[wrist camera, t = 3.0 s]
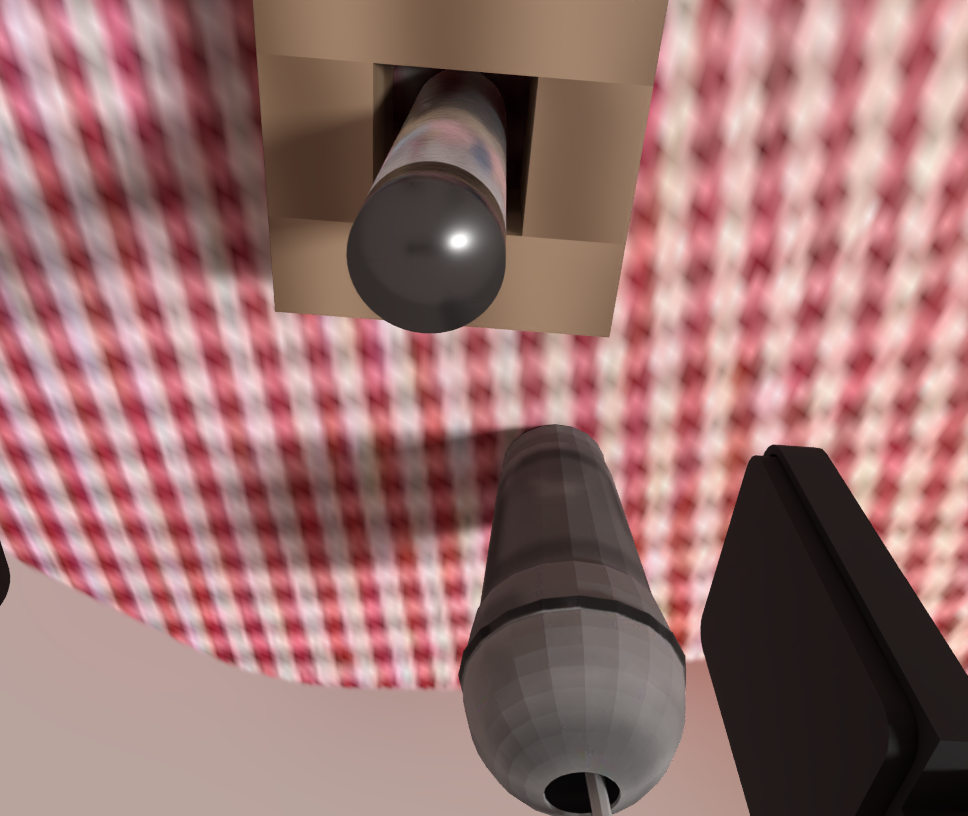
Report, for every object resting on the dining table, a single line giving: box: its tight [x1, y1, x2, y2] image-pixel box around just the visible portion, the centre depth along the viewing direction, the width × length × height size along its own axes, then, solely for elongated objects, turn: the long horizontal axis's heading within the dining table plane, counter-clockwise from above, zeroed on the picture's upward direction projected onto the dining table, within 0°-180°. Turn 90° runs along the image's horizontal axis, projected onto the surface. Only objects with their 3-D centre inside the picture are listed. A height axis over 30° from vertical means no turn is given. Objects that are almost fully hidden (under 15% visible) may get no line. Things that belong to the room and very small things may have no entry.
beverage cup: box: [458, 425, 686, 816], centre depth 27 cm, size 7×7×20 cm
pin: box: [346, 69, 506, 333], centre depth 22 cm, size 3×3×14 cm
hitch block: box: [253, 0, 668, 337], centre depth 25 cm, size 11×11×5 cm
